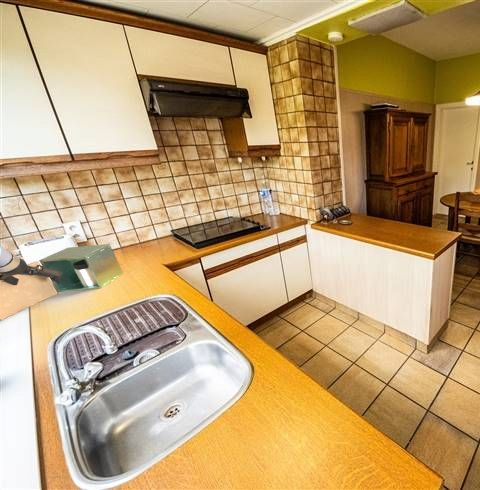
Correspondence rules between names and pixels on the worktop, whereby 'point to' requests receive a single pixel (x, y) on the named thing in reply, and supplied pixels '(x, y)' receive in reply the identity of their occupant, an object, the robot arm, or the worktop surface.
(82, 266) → the jar
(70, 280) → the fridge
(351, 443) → the worktop surface
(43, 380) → the worktop surface
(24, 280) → the fridge door
